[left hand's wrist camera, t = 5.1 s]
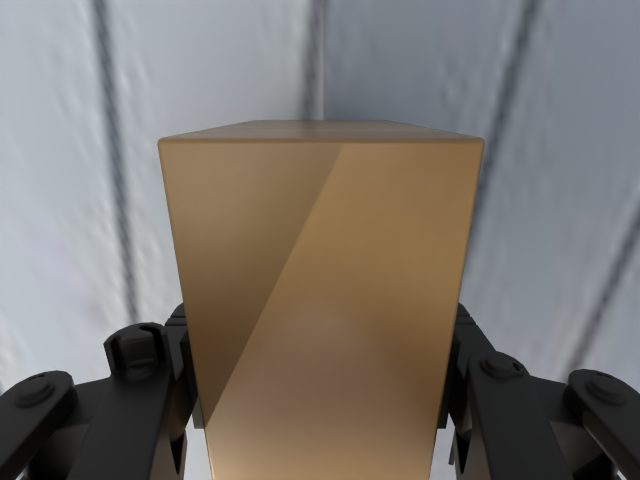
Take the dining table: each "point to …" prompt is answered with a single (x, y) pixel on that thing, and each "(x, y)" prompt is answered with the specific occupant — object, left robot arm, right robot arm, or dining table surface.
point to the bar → (320, 290)
